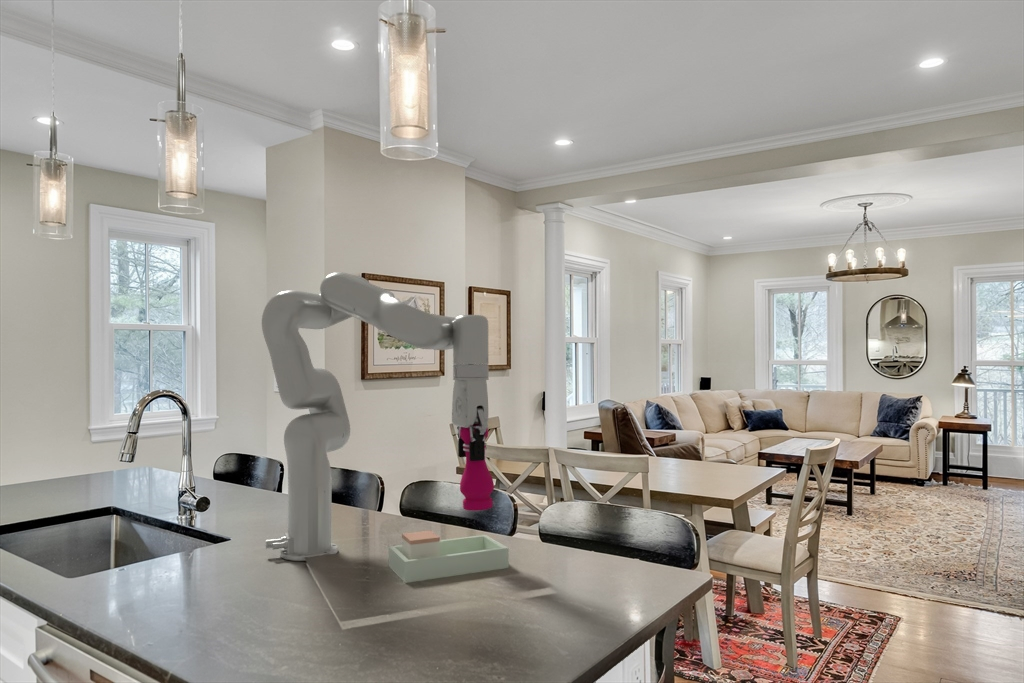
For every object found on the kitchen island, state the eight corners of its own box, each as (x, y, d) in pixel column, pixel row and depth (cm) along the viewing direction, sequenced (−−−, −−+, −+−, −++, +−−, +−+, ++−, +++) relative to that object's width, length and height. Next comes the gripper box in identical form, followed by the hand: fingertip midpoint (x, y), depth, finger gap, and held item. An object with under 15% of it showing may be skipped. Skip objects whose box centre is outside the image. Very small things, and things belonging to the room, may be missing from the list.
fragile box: (410, 576, 133) (410, 540, 133) (401, 568, 138) (401, 533, 138) (439, 572, 135) (439, 537, 136) (430, 564, 141) (430, 530, 141)
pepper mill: (490, 511, 138) (485, 413, 138) (456, 511, 139) (451, 414, 140) (498, 503, 145) (493, 410, 146) (466, 504, 146) (461, 412, 147)
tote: (405, 588, 129) (405, 561, 129) (388, 570, 140) (388, 546, 140) (508, 572, 139) (508, 548, 139) (485, 557, 149) (485, 534, 150)
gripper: (440, 372, 149) (440, 454, 148) (469, 373, 133) (469, 465, 133) (472, 372, 152) (472, 452, 151) (503, 373, 137) (504, 462, 136)
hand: (471, 457), depth 142 cm, fingers closed on pepper mill, 5 cm apart
